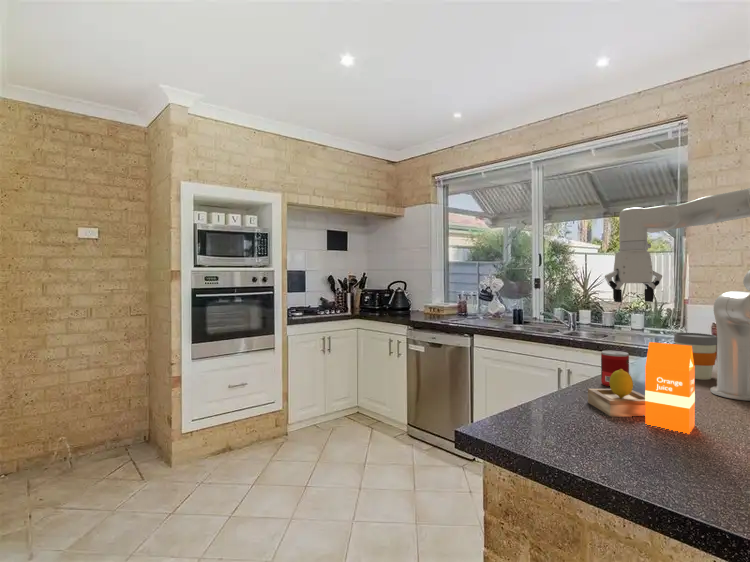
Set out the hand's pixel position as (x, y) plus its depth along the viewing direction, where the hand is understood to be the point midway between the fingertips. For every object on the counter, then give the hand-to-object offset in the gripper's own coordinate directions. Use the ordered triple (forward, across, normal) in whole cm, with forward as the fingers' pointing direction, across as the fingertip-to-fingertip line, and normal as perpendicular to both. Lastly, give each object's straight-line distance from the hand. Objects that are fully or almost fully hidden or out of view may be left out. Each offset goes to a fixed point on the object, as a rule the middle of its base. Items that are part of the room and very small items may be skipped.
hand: (633, 301), depth 131 cm
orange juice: (+28, +9, +30) cm, 43 cm away
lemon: (+26, +14, +18) cm, 34 cm away
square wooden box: (+28, +14, +18) cm, 36 cm away
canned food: (+28, +2, -7) cm, 29 cm away
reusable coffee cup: (+28, -33, -19) cm, 48 cm away
